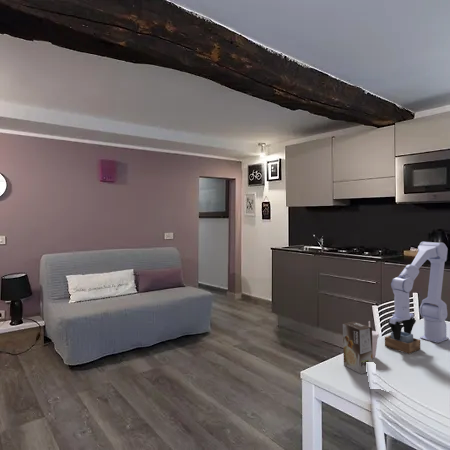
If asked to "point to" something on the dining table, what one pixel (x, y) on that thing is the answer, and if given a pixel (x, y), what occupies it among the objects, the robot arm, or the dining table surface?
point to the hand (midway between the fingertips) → (402, 337)
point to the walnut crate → (402, 345)
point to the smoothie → (374, 341)
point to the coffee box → (357, 346)
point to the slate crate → (404, 337)
